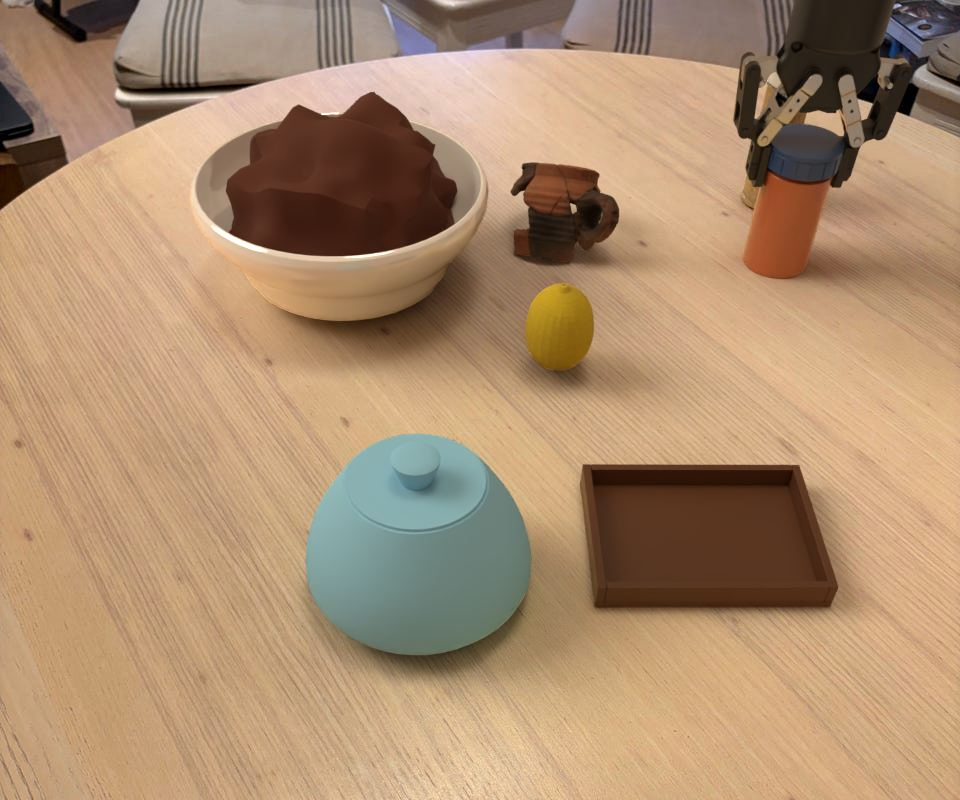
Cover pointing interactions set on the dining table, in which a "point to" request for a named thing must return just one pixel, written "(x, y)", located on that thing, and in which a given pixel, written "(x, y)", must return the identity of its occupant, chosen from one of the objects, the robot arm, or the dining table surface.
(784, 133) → the lid
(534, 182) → the pottery mug
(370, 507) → the sugar bowl
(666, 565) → the tray
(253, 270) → the bowl of chocolate mousse
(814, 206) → the jar
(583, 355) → the lemon
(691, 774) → the dining table surface
